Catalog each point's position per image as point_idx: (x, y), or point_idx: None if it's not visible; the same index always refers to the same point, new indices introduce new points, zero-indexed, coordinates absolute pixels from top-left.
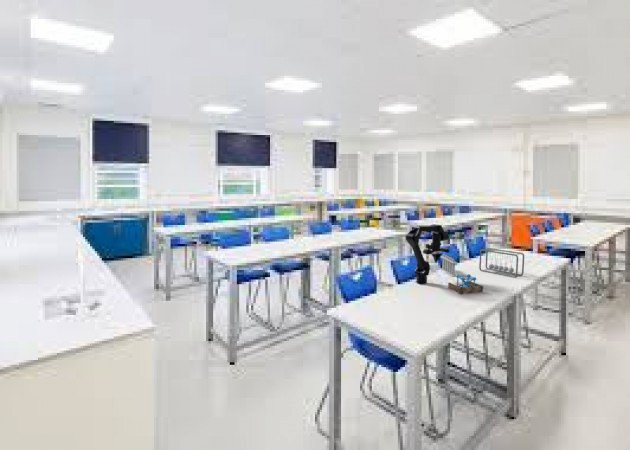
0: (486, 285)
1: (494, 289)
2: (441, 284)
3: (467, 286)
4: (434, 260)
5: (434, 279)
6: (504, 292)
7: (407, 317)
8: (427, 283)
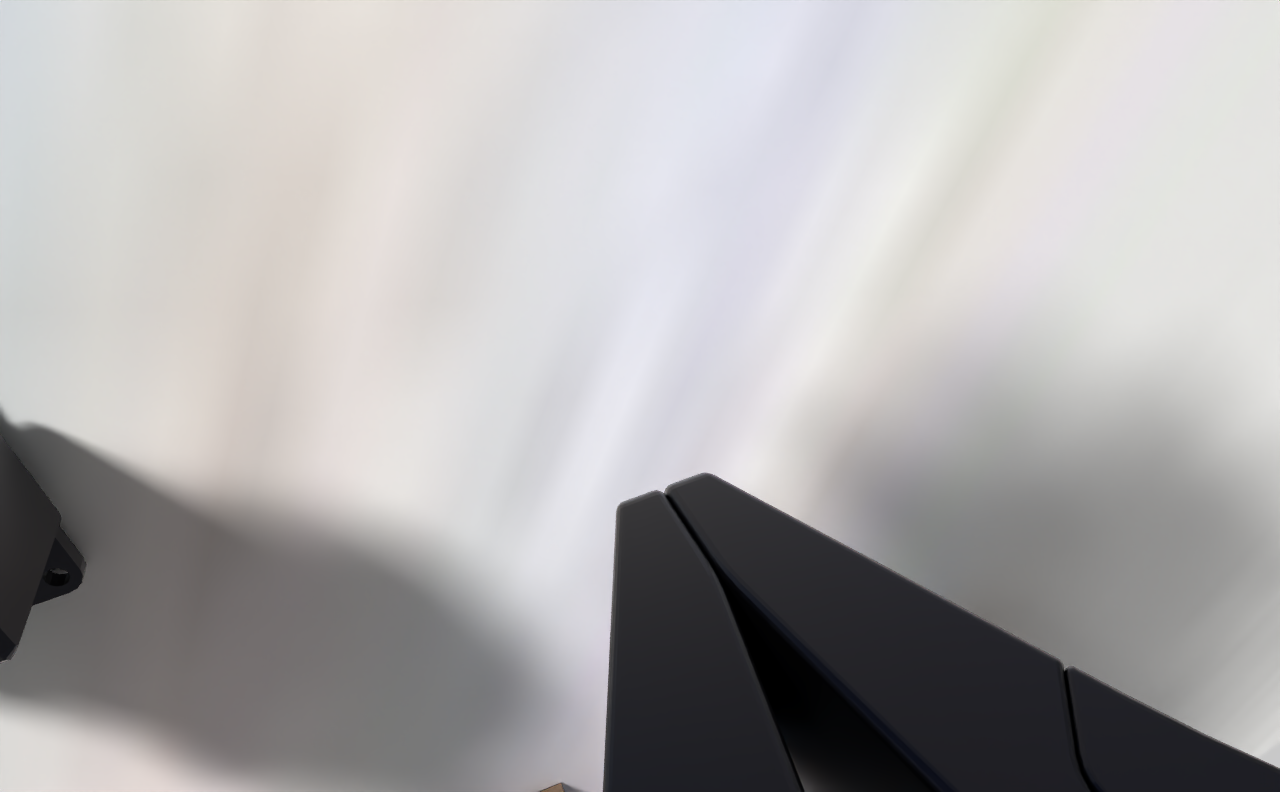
0: (1249, 529)
1: (1179, 694)
2: (484, 576)
3: None
4: (613, 642)
5: (435, 60)
6: None
7: None
8: (76, 579)
